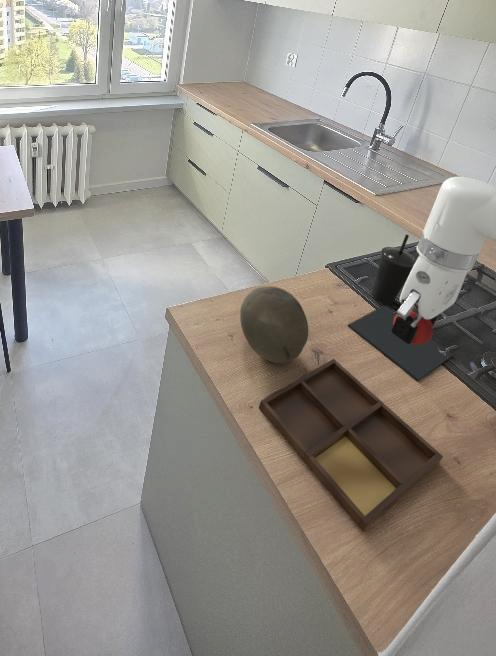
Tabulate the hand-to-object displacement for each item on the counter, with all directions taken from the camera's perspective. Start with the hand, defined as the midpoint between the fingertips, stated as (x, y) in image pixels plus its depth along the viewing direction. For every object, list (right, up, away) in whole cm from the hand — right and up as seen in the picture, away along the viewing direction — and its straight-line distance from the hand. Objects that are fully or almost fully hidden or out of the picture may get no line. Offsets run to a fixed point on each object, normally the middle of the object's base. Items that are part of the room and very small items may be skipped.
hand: (411, 330), depth 75 cm
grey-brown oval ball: (-20, -12, +18) cm, 29 cm away
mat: (+12, -12, +21) cm, 28 cm away
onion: (0, -3, +1) cm, 3 cm away
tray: (-11, -20, +2) cm, 23 cm away
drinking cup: (+17, -7, +34) cm, 38 cm away
